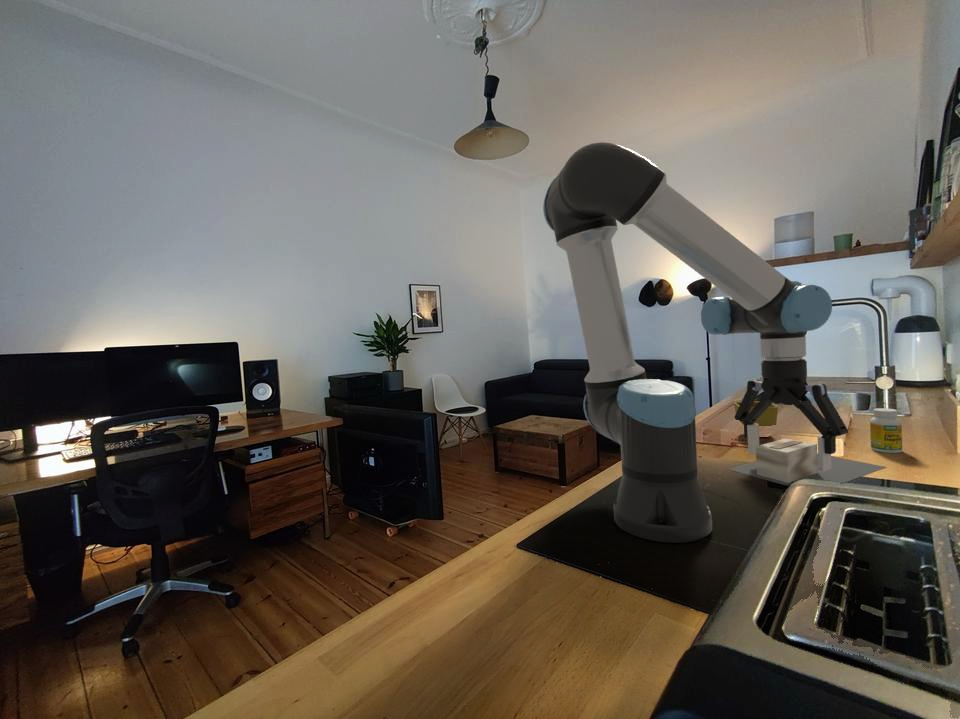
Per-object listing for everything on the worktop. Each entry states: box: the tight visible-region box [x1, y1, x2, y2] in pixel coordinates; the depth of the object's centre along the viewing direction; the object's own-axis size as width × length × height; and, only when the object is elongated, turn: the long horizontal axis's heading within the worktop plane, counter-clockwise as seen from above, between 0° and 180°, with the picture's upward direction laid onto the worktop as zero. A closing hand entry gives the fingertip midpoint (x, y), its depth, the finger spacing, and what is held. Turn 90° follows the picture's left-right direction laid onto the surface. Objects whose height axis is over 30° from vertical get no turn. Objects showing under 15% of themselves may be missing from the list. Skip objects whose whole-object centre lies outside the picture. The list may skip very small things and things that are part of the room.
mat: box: [727, 452, 887, 487], centre depth 89 cm, size 25×17×1 cm
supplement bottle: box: [869, 407, 903, 454], centre depth 98 cm, size 5×5×10 cm
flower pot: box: [733, 401, 779, 426], centre depth 117 cm, size 9×9×9 cm
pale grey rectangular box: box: [755, 438, 818, 483], centre depth 87 cm, size 10×6×6 cm, turn 114°
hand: (786, 461), depth 87 cm, fingers open, 13 cm apart
